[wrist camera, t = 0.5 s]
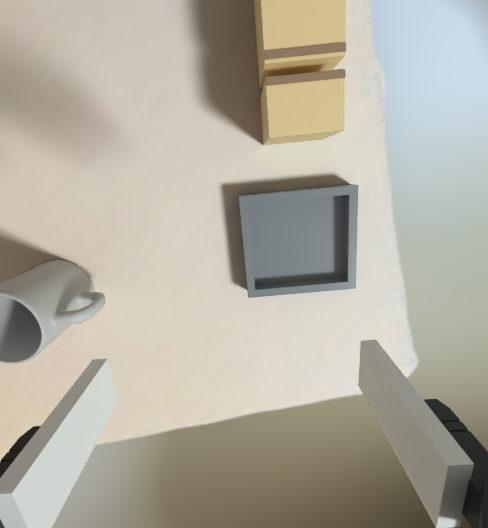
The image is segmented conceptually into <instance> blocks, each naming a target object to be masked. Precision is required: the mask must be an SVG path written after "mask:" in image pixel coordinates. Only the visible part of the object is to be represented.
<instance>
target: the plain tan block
mask: <svg viewBox="0 0 488 528" xmlns="http://www.w3.org/2000/svg"><path fill="white" fill-rule="evenodd" d="M344 78H345V69H339V70H329V71H320V72H310V73H300V74H291V75H281V76H271V77H266V78H265V82H264V86H263V90H262V94H261V98H260V103H261V118H262V132H263V145H273V144H283V143H293V142H303V141H313V140H322V139H325V138H327V137H329V136H332V135H334V134H336V133H339V132H341V131H344Z"/></svg>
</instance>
